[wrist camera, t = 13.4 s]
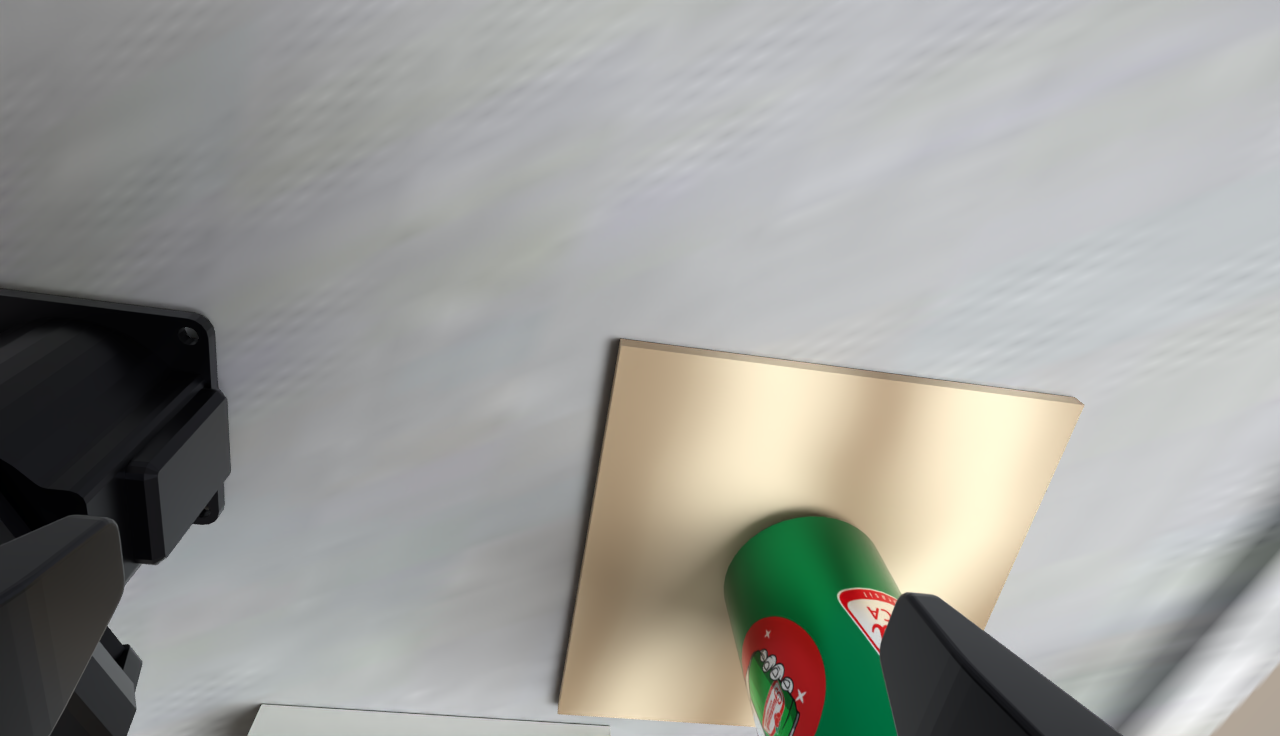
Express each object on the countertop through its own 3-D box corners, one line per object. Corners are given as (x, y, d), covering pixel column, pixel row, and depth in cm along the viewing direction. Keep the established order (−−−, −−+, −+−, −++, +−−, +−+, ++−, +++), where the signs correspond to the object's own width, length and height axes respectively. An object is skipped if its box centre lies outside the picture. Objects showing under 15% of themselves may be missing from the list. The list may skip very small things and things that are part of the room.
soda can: (903, 578, 26) (1140, 998, 15) (773, 654, 27) (906, 1099, 16) (825, 476, 24) (1033, 872, 13) (689, 561, 25) (776, 995, 14)
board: (558, 702, 28) (557, 714, 27) (620, 338, 22) (621, 345, 21) (929, 727, 29) (935, 738, 29) (1074, 397, 24) (1084, 405, 23)
